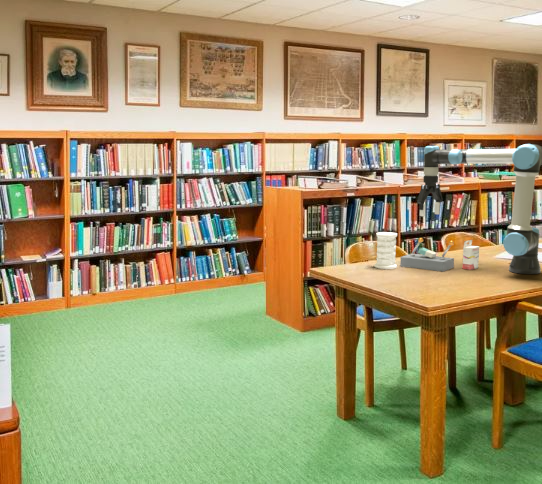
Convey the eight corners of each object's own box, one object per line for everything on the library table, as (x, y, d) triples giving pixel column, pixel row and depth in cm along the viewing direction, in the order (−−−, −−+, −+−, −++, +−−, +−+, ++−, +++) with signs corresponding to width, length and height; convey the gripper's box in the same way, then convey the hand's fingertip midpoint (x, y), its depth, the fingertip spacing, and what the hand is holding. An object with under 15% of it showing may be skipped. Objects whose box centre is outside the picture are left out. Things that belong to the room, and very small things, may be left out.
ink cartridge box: (470, 270, 334) (472, 242, 332) (462, 269, 337) (463, 241, 335) (478, 268, 340) (480, 240, 338) (470, 266, 343) (471, 239, 341)
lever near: (445, 257, 337) (455, 242, 333) (443, 258, 335) (453, 242, 331) (441, 254, 338) (451, 239, 334) (439, 255, 336) (449, 239, 332)
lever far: (415, 254, 347) (424, 239, 343) (413, 254, 345) (422, 239, 341) (411, 251, 348) (421, 236, 344) (409, 252, 346) (419, 236, 342)
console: (453, 267, 341) (454, 256, 340) (443, 271, 330) (443, 260, 329) (411, 262, 356) (412, 251, 355) (400, 266, 345) (400, 255, 344)
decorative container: (401, 267, 340) (402, 234, 337) (384, 269, 334) (385, 235, 332) (386, 264, 350) (387, 231, 347) (370, 266, 344) (371, 233, 341)
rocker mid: (435, 256, 342) (436, 252, 341) (431, 258, 338) (432, 254, 337) (422, 251, 346) (423, 247, 345) (418, 252, 342) (419, 248, 342)
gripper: (438, 174, 352) (437, 213, 355) (410, 175, 335) (409, 216, 338) (450, 174, 346) (448, 214, 349) (422, 176, 330) (421, 217, 333)
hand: (429, 215), depth 344 cm, fingers open, 13 cm apart
